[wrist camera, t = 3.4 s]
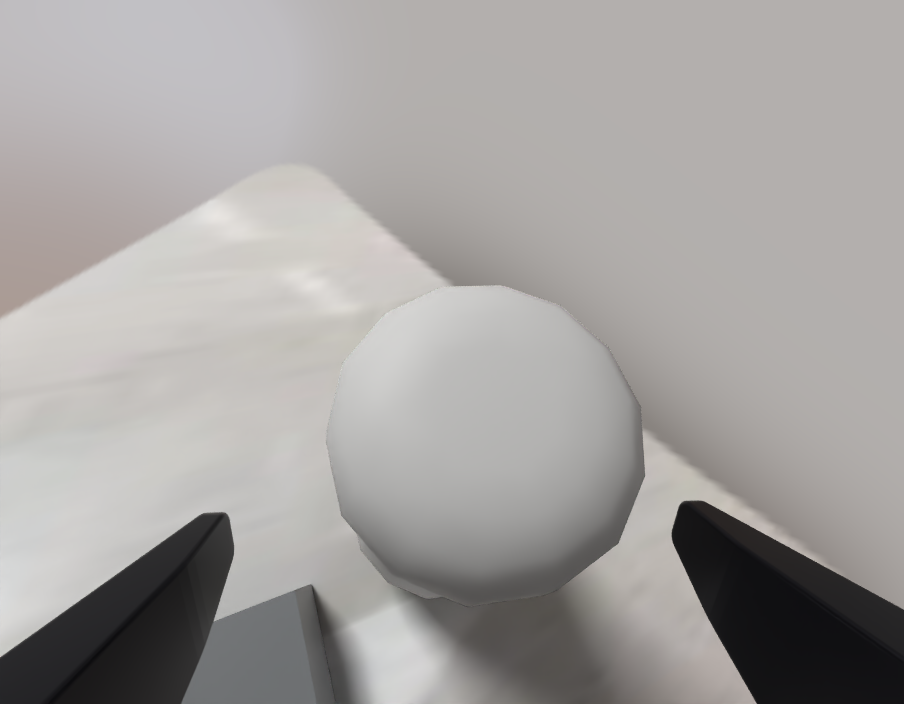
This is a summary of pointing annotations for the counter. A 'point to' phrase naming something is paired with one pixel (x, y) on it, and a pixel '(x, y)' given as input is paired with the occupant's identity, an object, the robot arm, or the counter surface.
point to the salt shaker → (484, 446)
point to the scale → (265, 656)
